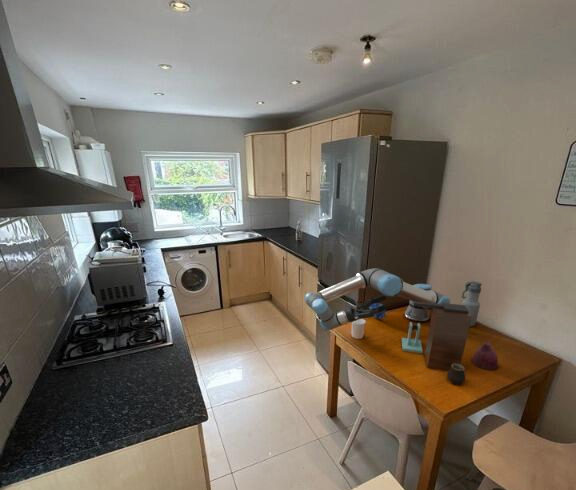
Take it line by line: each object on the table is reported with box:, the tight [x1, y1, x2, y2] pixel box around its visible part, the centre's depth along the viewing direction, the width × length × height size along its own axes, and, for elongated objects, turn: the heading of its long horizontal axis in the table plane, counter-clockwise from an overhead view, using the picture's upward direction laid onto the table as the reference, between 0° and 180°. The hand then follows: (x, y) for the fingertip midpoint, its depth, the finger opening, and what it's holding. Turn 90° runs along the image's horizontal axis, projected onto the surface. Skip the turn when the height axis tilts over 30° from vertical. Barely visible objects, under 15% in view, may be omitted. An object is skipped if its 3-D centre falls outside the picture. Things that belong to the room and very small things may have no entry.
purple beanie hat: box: [471, 341, 498, 371], centre depth 149 cm, size 10×10×15 cm
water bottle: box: [461, 280, 483, 327], centre depth 190 cm, size 10×10×28 cm
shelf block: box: [424, 303, 472, 372], centre depth 148 cm, size 12×14×30 cm
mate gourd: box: [446, 364, 466, 385], centre depth 137 cm, size 7×8×10 cm
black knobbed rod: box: [412, 323, 418, 331], centre depth 170 cm, size 15×4×4 cm, turn 163°
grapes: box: [368, 302, 387, 320], centre depth 198 cm, size 12×7×12 cm, turn 53°
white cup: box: [351, 318, 367, 340], centre depth 177 cm, size 8×8×10 cm
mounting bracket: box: [401, 321, 424, 354], centre depth 166 cm, size 12×10×14 cm
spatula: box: [413, 301, 469, 314], centre depth 144 cm, size 7×23×2 cm, turn 73°
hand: (385, 301), depth 153 cm, fingers open, 13 cm apart
